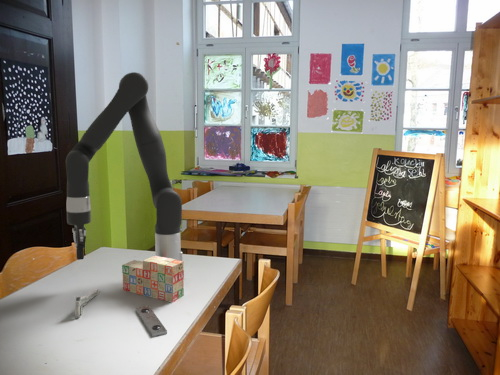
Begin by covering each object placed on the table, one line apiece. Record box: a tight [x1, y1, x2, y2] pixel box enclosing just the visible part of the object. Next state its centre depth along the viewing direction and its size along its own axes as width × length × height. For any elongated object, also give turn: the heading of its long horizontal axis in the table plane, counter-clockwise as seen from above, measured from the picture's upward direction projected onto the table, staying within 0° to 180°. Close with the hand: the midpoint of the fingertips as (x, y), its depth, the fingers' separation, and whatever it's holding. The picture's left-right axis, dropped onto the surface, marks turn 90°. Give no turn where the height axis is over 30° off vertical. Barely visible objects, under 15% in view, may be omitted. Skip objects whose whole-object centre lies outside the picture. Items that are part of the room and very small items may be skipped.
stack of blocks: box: [121, 255, 185, 303], centre depth 138 cm, size 21×6×12 cm, turn 64°
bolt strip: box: [135, 305, 168, 338], centre depth 118 cm, size 4×18×1 cm, turn 29°
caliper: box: [74, 289, 101, 319], centre depth 129 cm, size 20×1×6 cm, turn 4°
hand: (80, 258), depth 141 cm, fingers closed
